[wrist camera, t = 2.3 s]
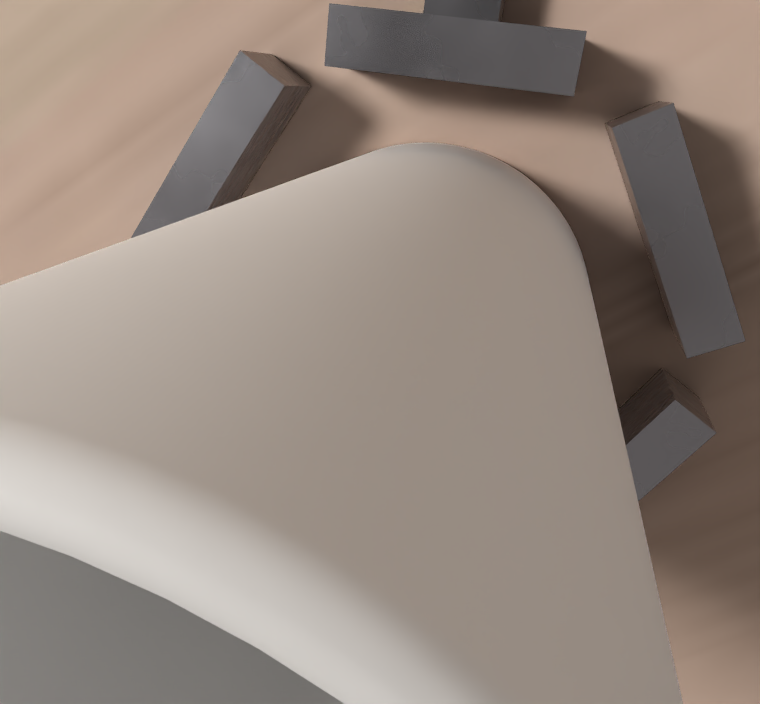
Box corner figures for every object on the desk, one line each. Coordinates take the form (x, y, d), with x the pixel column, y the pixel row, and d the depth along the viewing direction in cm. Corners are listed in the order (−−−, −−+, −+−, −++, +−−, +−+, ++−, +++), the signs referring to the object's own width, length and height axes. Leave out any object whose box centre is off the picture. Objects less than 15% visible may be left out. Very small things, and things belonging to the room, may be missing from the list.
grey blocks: (173, -84, 17) (127, -105, 15) (825, -24, 15) (865, -39, 13) (167, 519, 23) (134, 556, 21) (630, 627, 21) (638, 679, 19)
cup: (634, 183, 17) (1272, 865, 2) (539, 484, 20) (519, 1625, 5) (297, 110, 18) (-880, 211, 3) (256, 406, 21) (-437, 1164, 6)
